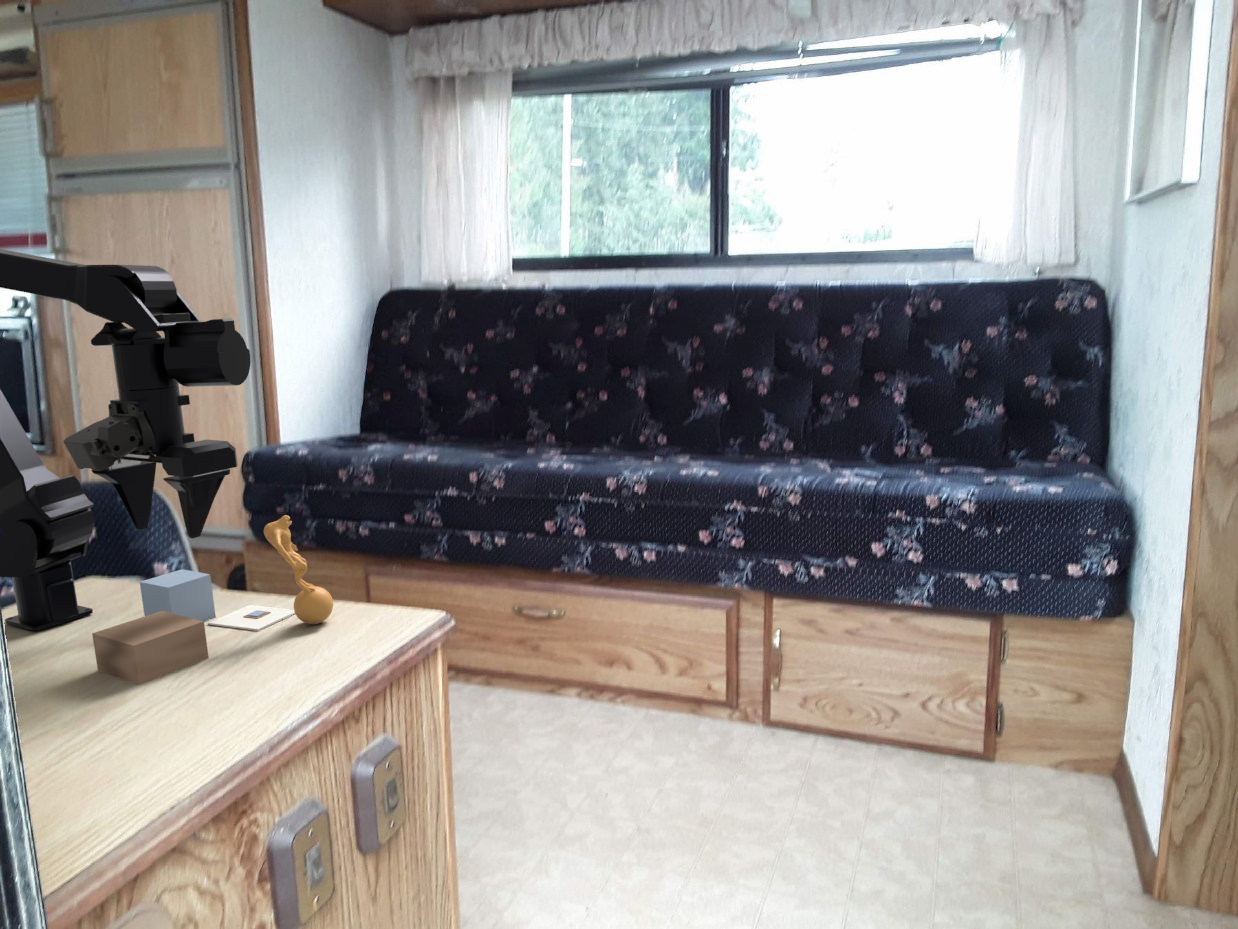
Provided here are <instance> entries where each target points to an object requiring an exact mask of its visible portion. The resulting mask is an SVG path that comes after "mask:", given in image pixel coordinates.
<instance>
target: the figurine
mask: <svg viewBox="0 0 1238 929" xmlns="http://www.w3.org/2000/svg"><path fill="white" fill-rule="evenodd" d="M290 519H291V517H290V516H289V515H286V514H285V515H283V516H281V517H280V518H279V519H277V520H275V521H273V522H269V523H267V524H265V526H264V528H263V534H264V537H265V539H266V540H267V541H268V542H269V543H270V544H271V546H273V547H274V548H275V549H276V551H277V552H278V555H281V556H282V557H283V558H284V561H286V562H287V564H288V565H289V566H291V567H292V570H294V580H295V583H296V584H297V585H298V586H299V588H301V590H300V592H298V594H297V595H296V596H295V598H294V601H293V610H294V612H295V614H294V615H295V617H297V619H299V621H301V622H303V623H304V624H307V625H317V624H320V623H323V622H324V621H326V620H327V619H328V618H329V617H330V615H331V613H332V612H333V609H334V600H333V597H332V595H331V594H330V592H329V591H328V590H327V589H325V588H324V587H321V586H316V585H314V584H313V583H308V582H306V581H305V580H303V579H302V578H303V577H304V575H305V574H306V573H307V571H308V565H307V564H308V563H307V559H305V558H304V557H302V555H300V554H299V553H297V551H299V549H298V548H297V547H298V546H297V545H295V544H294V543H293V542H292V540H291V538H292V534H291V530H290V528H289V527H290V526H291V525H292V524H293V523H292V522H293V521H292V520H290Z"/></svg>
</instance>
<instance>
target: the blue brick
mask: <svg viewBox="0 0 1238 929" xmlns="http://www.w3.org/2000/svg"><path fill="white" fill-rule="evenodd" d="M212 584H213V583H212V578H211V574H209V573H204V572H200V571H194V570H189V569H183V568H182V569H179V570H175V571H171V572H168V573H165V574H162V575H159V576H158V575H157V576H155V577H152V578H147V579H145V580H142V581H139V586H140V594H141V601H142V608H143V615H144V616H148V615H151V614H154V613H157V612H160V611H165V612H169V613H173V614H177V615H181V616H185V617H188V618H192V619H196V620H200V621H204V622H207V621H210V620H213V619H215V618H216V617H217V616H216V611H215V610H216V609H215V601H214V600H215V599H214V594H213V585H212ZM209 619H210V620H209ZM216 619H217V618H216Z"/></svg>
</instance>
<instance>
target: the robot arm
mask: <svg viewBox="0 0 1238 929" xmlns="http://www.w3.org/2000/svg"><path fill="white" fill-rule="evenodd" d="M0 288H2V289H8V290H11V291H17V292H21V293H28V294H31V295H32V294H33V295H38V296H44V297H47V298H53V299H59V300H63V301H64V300H65V301H67V302H70V303H72V304H74V305H77V306H79V307H80V309H82V310H83V311H85V312H87V313H89V314H92V315H93V316H97V317H99V318H102V319H104V320H108V322H105V323H104V325H103V327H102V328H101V330H100V331H99V332H97V333H96V334H95V335H94V336H93V337H92V338H91V339H90V344H91V345H93V346H95V347H99V346H105V347H106V346H111V352H112V357H113V364H114V372H115V379H116V386H117V393H118V399H112V400H111V399H110V400H109V401H110V402H109V404H108V416H107V417H105V418H102V419H100V420H98V421H95V422H94V423H92V424H90V425H88V426H85V427H84V428H83V429H80V430H78V431H77V432H74V433H73V434H71V435H70V436H67V437H65V438H64V439H63V442H62V443H64V445H65V447H66V450H67V451H68V453H69V454H70V456H71V458H72V459H73V462H74V463H75V465H76V467H77V469H78V470H84V469H91V473H93V474H94V475H97V476H100V477H101V478H103V479H104V480H107V482H109V483H111V484H112V485H113V487H114V489H115V491H116V493H117V494H118V496H119V498H120V499H121V501H122V504H123V505H124V507H125V509H126V511H127V513H128V514H129V518H130V519H131V521H132V523H133V525H134V527H135V528H136V530H138V531H142V530H145V529H148V528H149V524H150V518H151V512H152V505H153V504H152V502H153V496H154V486H155V479H156V471H157V470H156V469H157V464H161V466H162V469H163V470H164V471H165V473H166V474H167V475H168V477H164V478H162V479H163V481H165V483H167V484H168V485H170V487H172V488H173V489H174V490H175V491H176V492H177V496H178V499H179V503H180V508H181V513H182V518H183V522H184V527H185V529H186V533H187V535H188V538H189V539H196V538H200V537H201V535H202V532H203V530H204V527H205V524H206V521H207V519H208V516H209V514H210V511H211V508H212V506H213V503H214V502H215V498H216V496H217V495H218V492H219V490H220V488H221V486H222V484H223V481H224V478H225V477H226V476H230V475H231V469H235V468H237V467H238V466H239V465H238V464H239V463H238V456H237V448H236V447H235V446H233V445H232V444H231V443H230V442H229V441H227V440H217V439H216V440H215V439H202V440H197V441H195V433H193V432H185V423H184V418H183V409H182V406H187V405H188V406H189V405H191V402H190V401H191V400H190V395H189V394H181V393H180V386H179V385H181V386H183V387H188V388H189V387H192V388H194V387H227V386H228V387H229V386H232V387H233V386H240V385H242V384H244V382H246V380H247V379H248V376H249V373H250V369H251V353H250V352H251V351H250V349H249V348H248V347H247V344H246V341H245V339H244V338H243V336H242V334H241V333H240V332H238V331H237V330H236V327H235V320H234V318H215V319H210V320H206V321H203V320H202V319H201V318H200V317H199V316H198V314H197V313H196V312H195V311H194V310H193V309H192V307H191V306H190V305H189V304H188V302H187V301H186V300H185V299H184V297H183V296H182V295H181V294H180V292H179V291H178V290H177V287H176V285H175V282H174V279H173V278H172V277H171V275H170V273H169V272H168V270H166V269H164V268H162V267H160V266H157V265H144V264H143V265H141V264H140V265H138V264H137V265H135V264H134V265H132V264H84V263H78V262H77V263H76V262H71V261H65V260H61V259H57V258H51V257H45V256H40V255H33V254H28V253H23V252H18V251H12V250H8V249H2V248H0ZM124 323H125V324H126V325H127V326H129V327H130V328H128V327H127V326H126V325H124ZM159 332H163V334H164V337H163V336H161V334H160V333H159ZM94 504H95V503H93V502H92V501H91V500H90V499H89V498H88V497H87V495H86V494H85V492H84V490H83V488H82V486H81V483H80V480H79V479H78V478H77V477H76V476H75V475H73V474H70V475H67V476H64V477H59V476H58V475H56V474H54V472H52V471H50V470H49V469H48V468H47V467H46V466H45V464H44V463H43V461H42V459H41V457H40V455H39V454H38V452H37V450H36V448H35V447H34V445H33V444H32V441H31V439H30V438H29V437H28V435H27V433H26V431H25V430H24V428H23V426H22V424H21V423H20V420H19V419H18V418H17V416H16V414H15V412H14V411H13V409H12V408H11V405H10V404H9V402H8V401H7V398H6V396H5V395H4V393H3V391H2V390H1V389H0V529H1V532H2V536H1V537H0V578H11V579H12V585H13V592H14V598H15V603H16V610H17V615H14V616H10V617H6V618H5V619H4V624H7V625H10V626H15V627H18V628H20V629H25V630H27V631H28V630H29V631H33V632H37V631H40V630H44V629H46V628H50V627H54V626H56V625H60V624H63V623H66V622H70V621H72V620H76V619H78V618H82V617H85V616H89V615H91V614H93V613H94V612H93V608H90V607H86V606H84V605H83V606H81V605H79V604H78V598H77V591H76V586H75V580H74V574H73V569H72V568H73V567H72V560H76V559H77V558H80V557H84V556H86V555H87V551H88V546H89V540H90V538H91V536H92V535H93V530H94V525H96V519H95V514H94V513H93V511H92V509H91V508H94V507H95V505H94Z"/></svg>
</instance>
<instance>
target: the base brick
mask: <svg viewBox="0 0 1238 929" xmlns="http://www.w3.org/2000/svg"><path fill="white" fill-rule="evenodd" d="M206 634H207V633H206V628H205V621H200V620H196V619H192V618H188V617H185V616H181V615H177V614H173V613H169V612H165V611H160V612H157V613H154V614H151V615H148V616H145V615H144V616H141V617H139V618H136V619H132V620H129V621H126V622H123V623H119V624H118V625H114V626H111V627H108V628H105V629H102V630H98V631H95V632H92V641H93V649H94V654H95V655H94V656H95V660H96V661H95V662H96V667H97V672H100V673H103V674H104V675H105V674H106V675H108V676H112V677H114V678H118V679H120V680H124V681H127V682H130V683H132V684H135V685H138V686H141V685H142V684H145V683H149V682H152V681H153V680H156V679H158V678H160V677H161V678H162V677H163V676H166V675H169V674H171V673H174V672H176V671H180V670H182V669H184V668H187V667H191V666H192V665H195V664H197V663H200V662H203V661H205V660H208V659H210V657H209V656H210V655H209V651H208V642H207V636H206Z"/></svg>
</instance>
